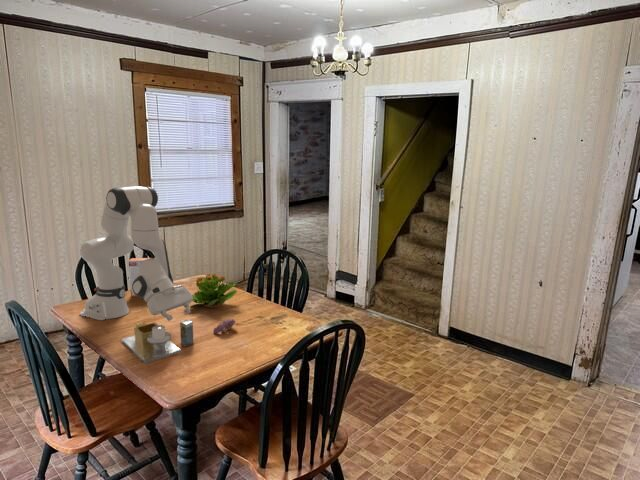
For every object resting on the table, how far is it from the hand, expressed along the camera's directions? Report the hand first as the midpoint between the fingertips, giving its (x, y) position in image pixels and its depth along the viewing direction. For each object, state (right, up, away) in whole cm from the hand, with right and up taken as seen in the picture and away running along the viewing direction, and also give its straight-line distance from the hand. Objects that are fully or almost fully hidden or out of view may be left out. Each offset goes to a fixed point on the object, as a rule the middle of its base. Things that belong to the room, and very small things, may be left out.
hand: (179, 316), depth 183 cm
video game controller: (+16, -9, +14) cm, 23 cm away
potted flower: (+4, -2, +45) cm, 46 cm away
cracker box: (-37, +2, +55) cm, 67 cm away
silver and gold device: (-11, -12, -4) cm, 17 cm away
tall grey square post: (+3, -12, +1) cm, 12 cm away
